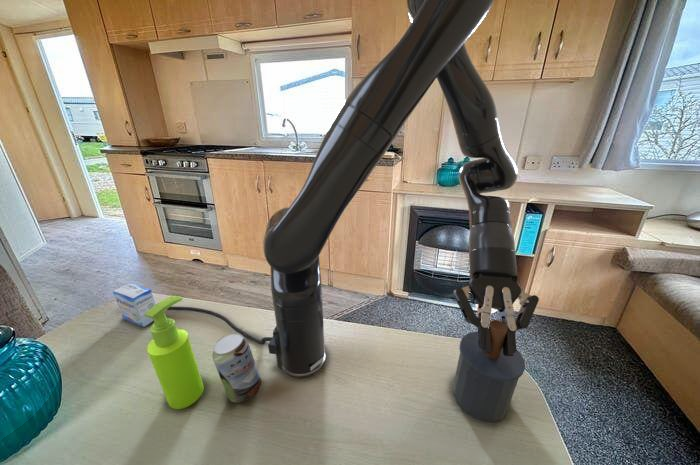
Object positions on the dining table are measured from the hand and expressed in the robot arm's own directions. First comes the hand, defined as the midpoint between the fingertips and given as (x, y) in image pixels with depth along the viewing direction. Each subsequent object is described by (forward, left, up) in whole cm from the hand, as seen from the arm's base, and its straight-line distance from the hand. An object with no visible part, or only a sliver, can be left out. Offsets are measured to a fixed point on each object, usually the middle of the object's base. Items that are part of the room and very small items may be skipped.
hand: (497, 354), depth 44 cm
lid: (0, +2, -3) cm, 3 cm away
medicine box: (-80, +10, -13) cm, 82 cm away
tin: (0, +2, -13) cm, 13 cm away
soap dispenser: (-54, -6, -13) cm, 56 cm away
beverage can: (-44, -4, -13) cm, 46 cm away
